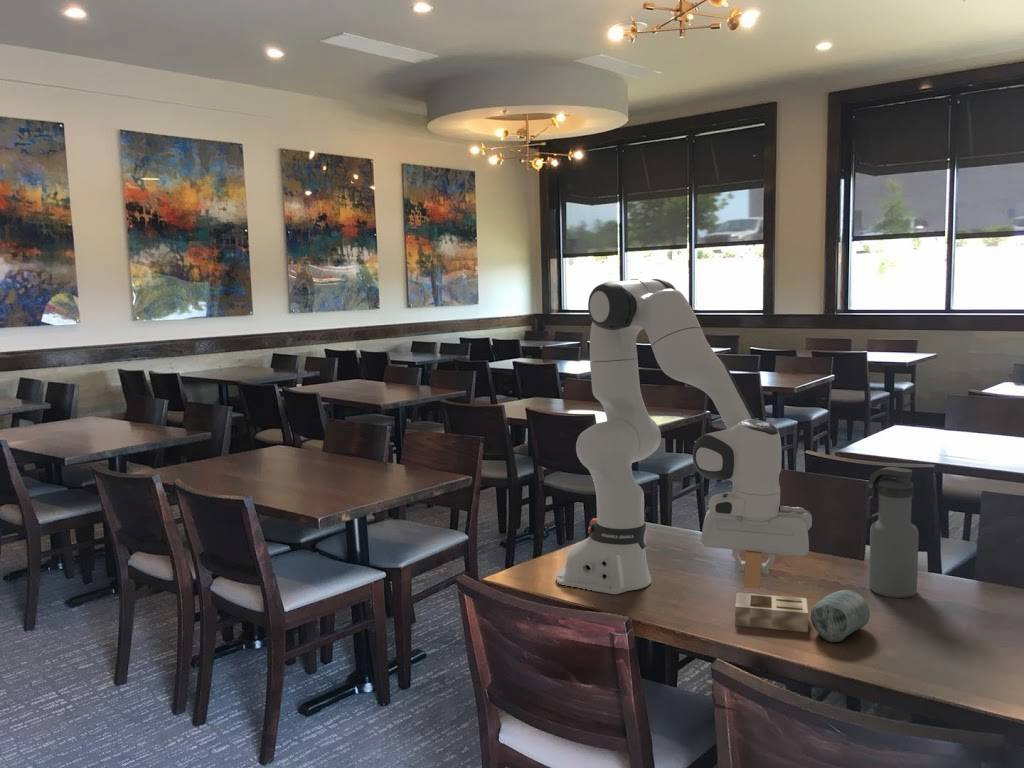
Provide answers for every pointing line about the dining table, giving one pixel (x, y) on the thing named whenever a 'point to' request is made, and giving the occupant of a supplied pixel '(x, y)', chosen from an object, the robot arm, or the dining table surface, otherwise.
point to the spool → (839, 615)
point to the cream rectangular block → (771, 612)
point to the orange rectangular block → (753, 569)
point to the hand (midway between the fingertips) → (752, 572)
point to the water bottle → (893, 535)
